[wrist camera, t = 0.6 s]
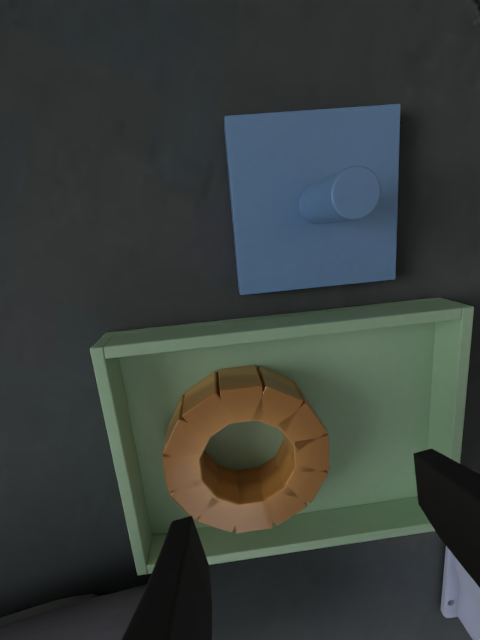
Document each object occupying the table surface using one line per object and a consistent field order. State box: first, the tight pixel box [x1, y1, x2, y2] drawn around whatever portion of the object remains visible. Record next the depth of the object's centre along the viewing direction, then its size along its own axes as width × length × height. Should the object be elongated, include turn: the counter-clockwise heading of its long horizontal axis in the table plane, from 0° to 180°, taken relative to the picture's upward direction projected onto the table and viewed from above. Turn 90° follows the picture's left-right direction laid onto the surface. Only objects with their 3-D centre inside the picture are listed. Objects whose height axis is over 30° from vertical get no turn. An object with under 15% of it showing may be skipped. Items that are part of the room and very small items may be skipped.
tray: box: [90, 297, 474, 575], centre depth 19 cm, size 18×13×3 cm
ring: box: [162, 365, 330, 533], centre depth 18 cm, size 8×8×3 cm
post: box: [224, 104, 401, 295], centre depth 14 cm, size 8×8×6 cm
